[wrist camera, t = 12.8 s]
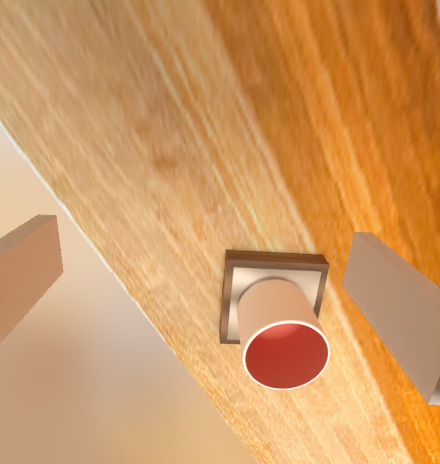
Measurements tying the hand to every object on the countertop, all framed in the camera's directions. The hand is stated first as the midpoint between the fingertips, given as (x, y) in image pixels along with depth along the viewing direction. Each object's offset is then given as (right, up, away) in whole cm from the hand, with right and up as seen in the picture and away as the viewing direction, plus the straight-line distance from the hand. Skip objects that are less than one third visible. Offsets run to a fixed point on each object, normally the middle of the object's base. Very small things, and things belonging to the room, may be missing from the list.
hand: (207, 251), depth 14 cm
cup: (+8, -10, +32) cm, 34 cm away
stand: (+8, -9, +34) cm, 36 cm away
